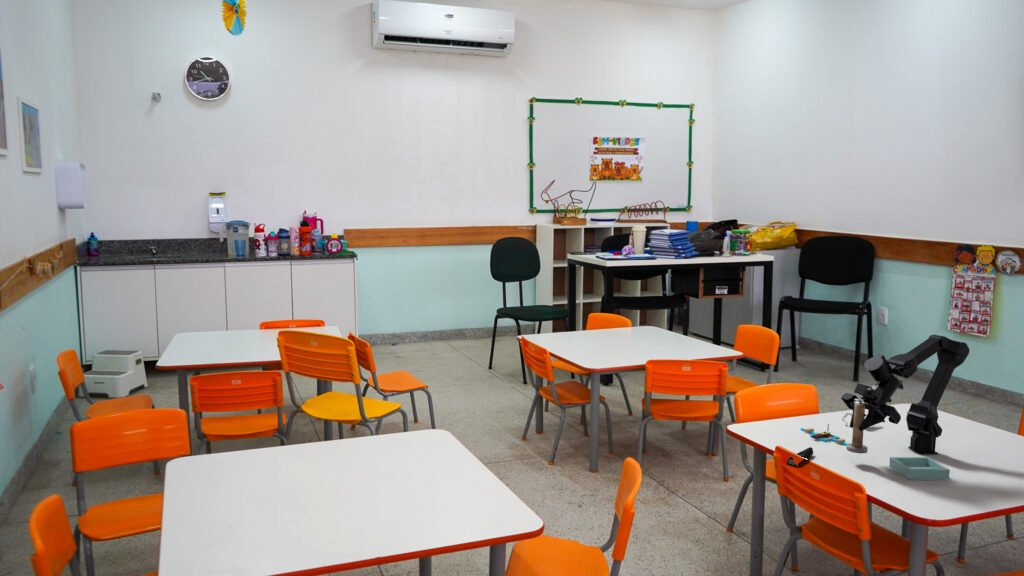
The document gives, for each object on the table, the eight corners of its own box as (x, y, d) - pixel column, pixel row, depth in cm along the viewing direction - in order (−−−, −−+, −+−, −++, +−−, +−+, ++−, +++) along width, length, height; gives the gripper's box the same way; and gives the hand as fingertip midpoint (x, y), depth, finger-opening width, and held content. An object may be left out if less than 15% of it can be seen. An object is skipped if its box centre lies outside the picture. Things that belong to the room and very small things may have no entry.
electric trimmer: (816, 457, 241) (817, 448, 241) (796, 468, 230) (797, 458, 230) (805, 454, 244) (805, 445, 244) (785, 465, 233) (785, 455, 233)
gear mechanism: (837, 449, 249) (857, 446, 253) (838, 434, 248) (858, 430, 252) (790, 433, 266) (809, 429, 271) (791, 418, 266) (810, 415, 270)
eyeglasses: (857, 431, 269) (858, 417, 268) (840, 424, 276) (841, 411, 276) (883, 428, 273) (884, 414, 272) (865, 421, 280) (866, 408, 280)
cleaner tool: (861, 446, 237) (864, 402, 236) (871, 453, 231) (874, 407, 230) (842, 447, 237) (845, 402, 235) (852, 453, 231) (855, 407, 229)
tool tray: (927, 466, 233) (927, 457, 232) (948, 479, 222) (949, 469, 221) (889, 466, 232) (890, 457, 232) (909, 479, 221) (910, 469, 221)
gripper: (847, 368, 242) (819, 404, 239) (896, 381, 224) (867, 421, 221) (863, 389, 246) (836, 426, 243) (913, 404, 229) (885, 443, 225)
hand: (855, 428), depth 233 cm, fingers closed on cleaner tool, 3 cm apart
